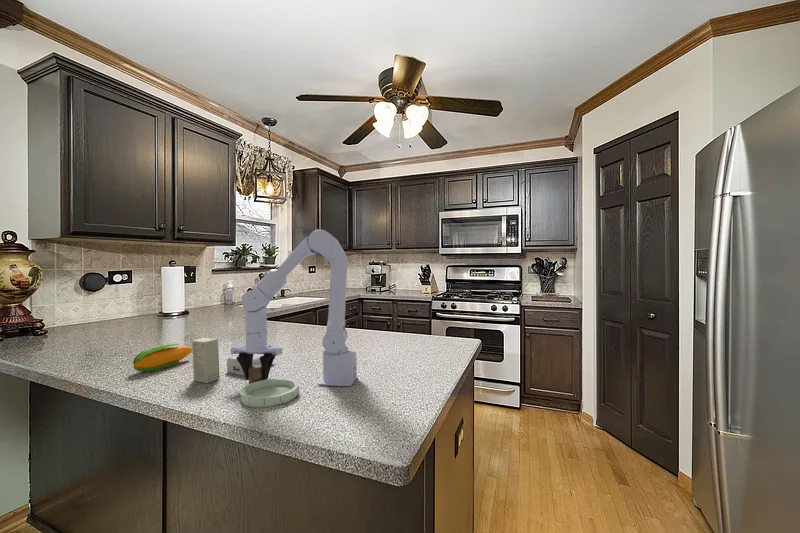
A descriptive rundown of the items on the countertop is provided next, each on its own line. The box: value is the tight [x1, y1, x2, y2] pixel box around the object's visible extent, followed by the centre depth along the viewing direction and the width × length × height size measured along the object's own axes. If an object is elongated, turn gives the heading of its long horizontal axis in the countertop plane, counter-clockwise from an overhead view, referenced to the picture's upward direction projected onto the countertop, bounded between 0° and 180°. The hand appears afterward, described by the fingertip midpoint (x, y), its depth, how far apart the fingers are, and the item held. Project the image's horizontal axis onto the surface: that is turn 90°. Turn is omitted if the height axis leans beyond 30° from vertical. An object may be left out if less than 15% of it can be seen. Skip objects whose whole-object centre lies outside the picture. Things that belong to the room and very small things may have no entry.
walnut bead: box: [248, 365, 262, 384], centre depth 99 cm, size 4×4×5 cm
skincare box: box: [191, 337, 220, 384], centre depth 103 cm, size 6×4×12 cm
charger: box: [226, 354, 276, 376], centre depth 115 cm, size 5×9×15 cm
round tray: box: [240, 377, 300, 408], centre depth 90 cm, size 14×14×2 cm
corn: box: [132, 343, 192, 373], centre depth 116 cm, size 7×8×20 cm
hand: (257, 379), depth 99 cm, fingers closed on walnut bead, 4 cm apart
